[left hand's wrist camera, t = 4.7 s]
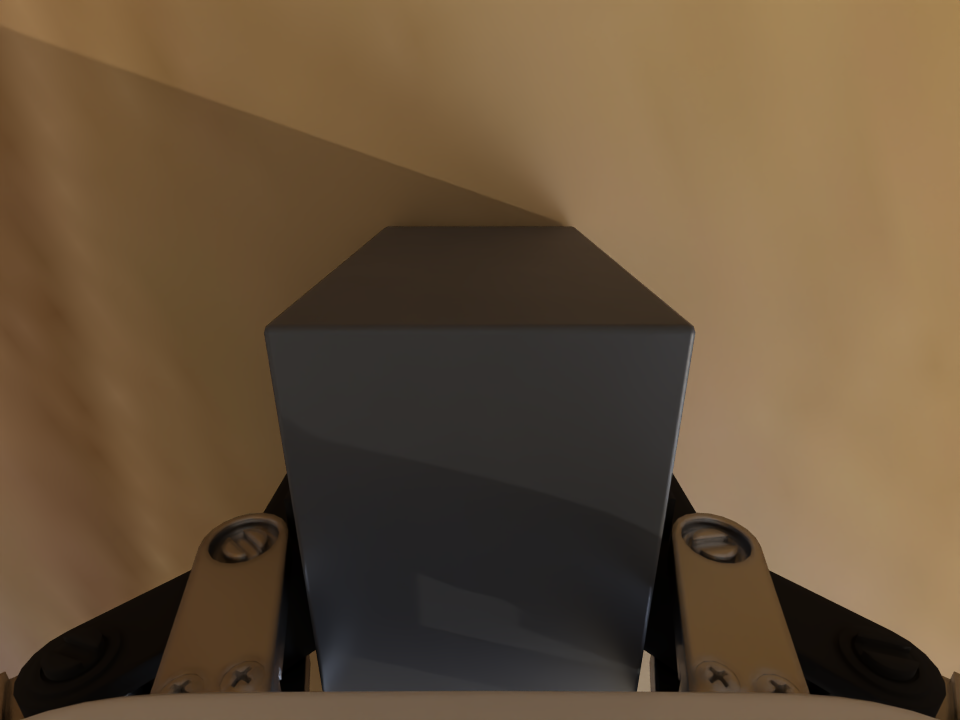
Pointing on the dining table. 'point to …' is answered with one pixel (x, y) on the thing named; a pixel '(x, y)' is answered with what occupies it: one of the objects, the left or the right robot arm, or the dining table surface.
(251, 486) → the dining table surface
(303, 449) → the beam
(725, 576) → the left robot arm
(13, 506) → the dining table surface
